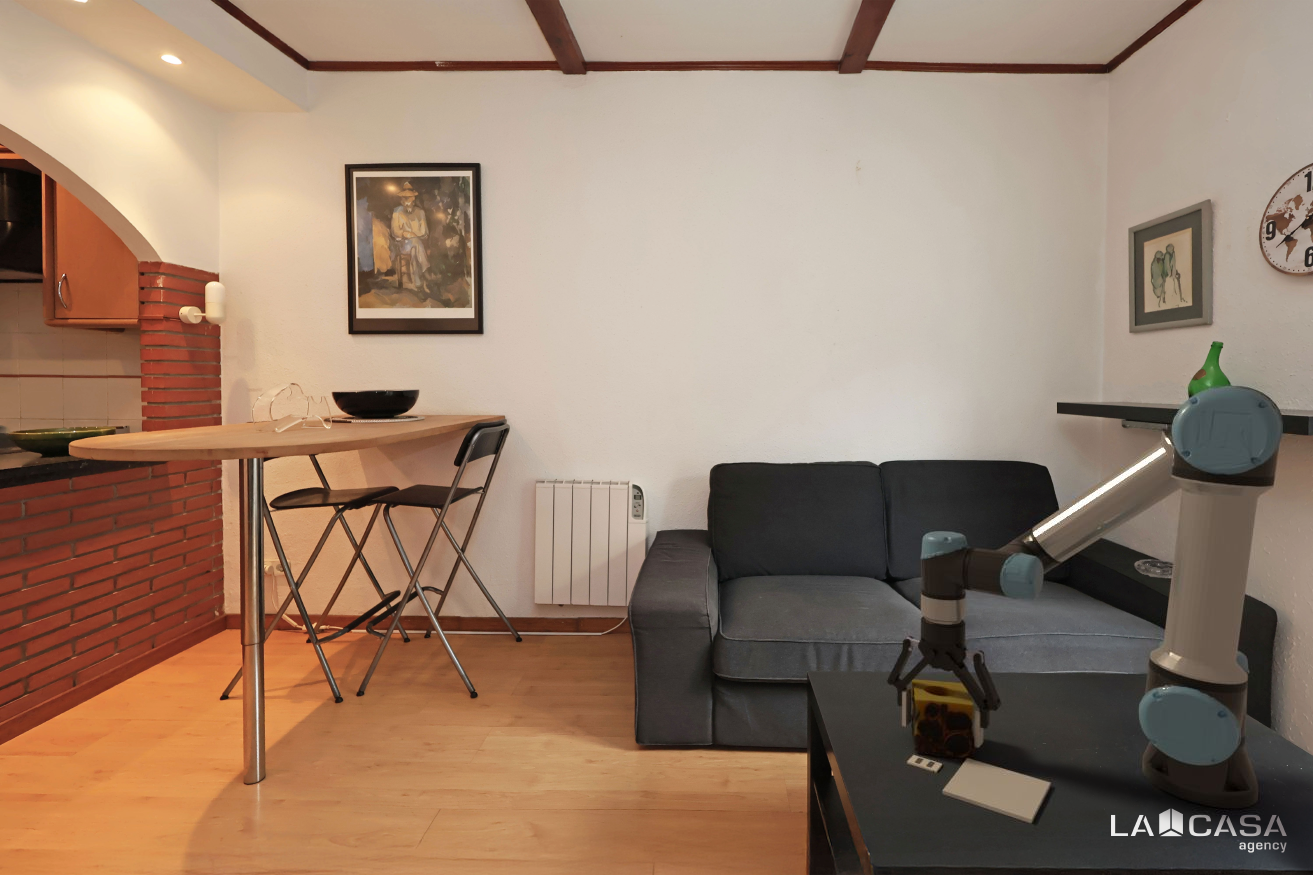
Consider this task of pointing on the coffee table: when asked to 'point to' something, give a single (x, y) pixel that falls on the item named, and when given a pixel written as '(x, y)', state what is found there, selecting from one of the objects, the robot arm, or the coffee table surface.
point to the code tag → (924, 763)
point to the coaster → (998, 789)
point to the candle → (942, 719)
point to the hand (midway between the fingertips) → (941, 733)
